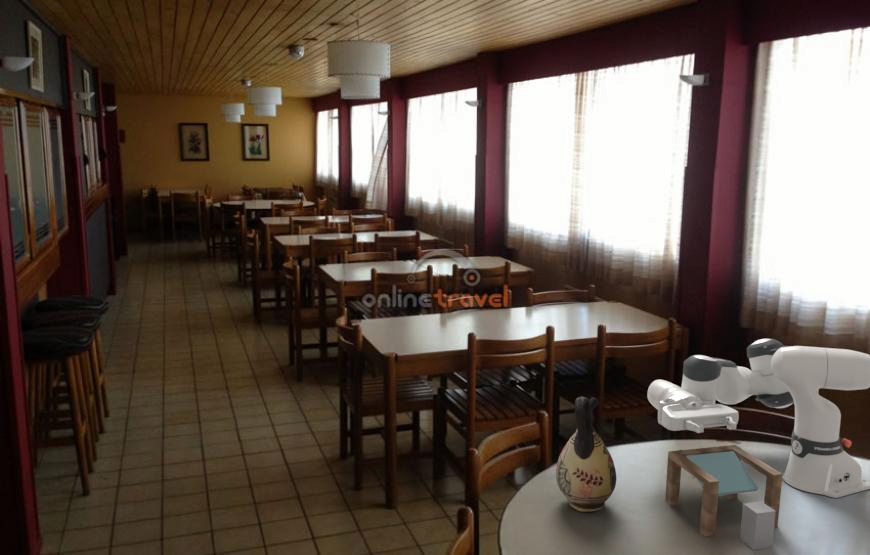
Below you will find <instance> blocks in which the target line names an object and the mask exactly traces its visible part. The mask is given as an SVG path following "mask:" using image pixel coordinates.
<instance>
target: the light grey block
mask: <svg viewBox="0 0 870 555" xmlns="http://www.w3.org/2000/svg"><path fill="white" fill-rule="evenodd" d="M775 512H776V511H775V510H773V509H772V508H770V507H769V506H767V505H766V504H765V503H764V501H761V500H760V501H753V502H745V503H742V513H741V514H742V515H741V524H740V535H739V536H740V538H739V539H740V540H741V541H743V542H744V543H745V544H747V546H749V547H750V548H752V550H758V549H759V550H760V549H764V548H767V549H768V548H772V547H773V543H774V533H775V532H774V531H775V528H774V523H775Z"/></svg>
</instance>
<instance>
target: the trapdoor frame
mask: <svg viewBox="0 0 870 555" xmlns="http://www.w3.org/2000/svg"><path fill="white" fill-rule="evenodd" d="M730 451H734V453H735V454H736V456H737V457H738V459H739V460H740V461H742V462H743V463H745V464H746V465H748V466H749V467H751V468H752V469H754V470H756V471H757V472H759V473H760V474H762V475H763V476H765V477H766V479H765V486H764V487H765V488H764V498H763V503H765V504H766V505H767V506H769V507H770V508H772V509H773V510H775V511H776V512H775V523H774V529H775V528H778V527H779V517H780V516H779V515H780V506H781V496H782V484H783V475H784V473H782V472H780V471H779V470H778V469H775V468H773V467H772V466H770V465H769V464H767V463H766V462H764V461H762V460H760V459H759V458H757V457H755V455H753V454H751V453H749V452H747V451H746V450H744V449H742V448H741V447H739V446H738V445H737V444H730V445H719V446H711V447H702V448H701V447H699V448H693V449H692V448H691V449H678V450H670V451H667V452H668V453H667V462H666V463H667V464H666V481H665V494H664V495H665V496H664V497H665V498H664V503H666V504H667V505H669V506H670V507H671V506H679V505H680V490H681V477H682V469H683V470H685V471H686V472H688V474H690V475H691V476H692V477H694V478H695V479H696V480H697V479H698V480H699V481H701V482H702V483H703V488H702V498H701V508H700V509H701V511H700V512H701V513H700V525H699V532H700V533H701V534H702V535H704V536H705V537H715V536H716V527H717V526H716V525H717V517H718V516H717V515H718V512H717V511H718V502H719V501H718V500H719V496H718V491H719V481H718V480H717V479H716V478H714V477H713V476H711V475H710V474H709V473H707V472H706V471H704V470H703V469H702V468H700V467H699V466H698V465H696V464H695V463H693V462H692V461H691V460H689V459H688V458H686V456H690V455H700V454H710V453H720V452H730ZM698 480H697V481H698ZM738 494H739V493H736V494H728V495H723V496H724V497H725V498H727V499H728V500H732V499H737V498H738Z"/></svg>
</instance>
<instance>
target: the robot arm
mask: <svg viewBox="0 0 870 555" xmlns="http://www.w3.org/2000/svg"><path fill="white" fill-rule="evenodd" d="M746 356H747V358H748V360H749V365H750V369H749V368H747V367H745V366H739V365H737V364H736V363H735V362H733V361H732V360H728V359H724V358H719V357H710V356H707V355H703V354H694V355H690V356H689V357H687V359H685V360H684V361H683V368H682V380H681V386H679V385H677V384H674V383H672V382H671V381H668V380H666V379H665V380H664V379H655V380H653V381H652V382H651V383H650V384H649V386H648V389H647V393H646V394H647V396H646V397H647V400H648V402H649V403H650V404H651V405H652V406H653V407H654V408H655V409H656V410H657V422H658V424H659V425H660V426H662V427H664V428H665V429H667V430H669V431H672V432H677V431H679V432H680V431H691V432H695V433H697V434H704V432H705V431H704V429H709V428H716V427H726V429H728V430H729V431H731V430H733V431H734V430H736V429H737V425H738V422H739V419H740V418H739V416H740V415H739V411H738V410H736V409H735V408H732V407H730V406H728V405H737V404H738V403H741V402H743V401H745V400H746V399H748V398H750V397H751V396H756V398H755V400H756V401H757V402H760V403H762V405H764V406H765V407H769V408H771V409H772V408H775V409H786V408H788V407H789V406H792V405H794V427H793V430H792V433H791V440H790V446H791V449H790V451H789V452H790V454H789V457H788V460H787V465H786V467H785V471H784V473H783V476H782V480H784V482H785V483H787V485H790V486H791V487H793V488H796V489H798V490H799V491H804V492H806V493H811V494H818V495H823V496H827V497H830V498H832V499H833V498H835V499H837V498H841V497H844V496H848V495H852V494H855V493H860V492H863V491H867V490H870V482H869V481H868V480H867V479H866V478H864V477H863V475H862V467H861V465H860V463H859V462H858V461H857V460H856V459H855V458H854V457H853V456H851V455H850V454H848V453H847V452H846V451H845V450H844V448H843V446H844V447H846V448H850V447H851V446H852V444H853V442H852V441H851V440H850V439H847V438H846V437H842V438H841V436H840V429H841V420H842V419H841V418H842V414H841V410H840V409H839V407H838V406H837V405H836V404H835V403H834V402H832V401H830V400H829V399H826V398H825V397H823V396H821V395H820V394H819V390H820V389H828V390H839V391H857V390H867V389H869V388H870V354H869V353H865V352H862V351H857V350H854V349H853V350H852V349H848V348H847V349H846V348H831V347H822V346H821V347H818V346H809V345H808V346H806V345H793V346H792V345H790V346H788V345H784V344H783V343H782V342H781V341H779V340H777V339H774V338H761V339H757V340H754V342H753V343H751V344H749V345H748V346H747V348H746ZM716 401H718V402H719V403H716Z"/></svg>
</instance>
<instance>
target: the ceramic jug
mask: <svg viewBox="0 0 870 555" xmlns="http://www.w3.org/2000/svg"><path fill="white" fill-rule="evenodd" d="M599 404H600V400H599V399H598V398H596V397H591V398H588V397H585V396H579V397H577V398H576V399H575V400H574V417H575V425H576V430H575V432H574V433H573V434H572V435H571V436H570V438H569V440H568V441H567V442H566V444H565V445H564V447H563V448H562V450H561V452H560V454H559V456H558V460H557V463H556V469H555V479H556V484H557V486H558V489H559V490H560V492H561V493H562V494H563V495H564V496H565V498H566V500H567V501H568V505H569V506H570V507H571V508H573V509H575V510H576V511H578V512H598V511H602V509H604V508H605V506H606V504H605V503H606V502H607V501H608V499H610V497H611V496H612V494H613V492H614V491H615V488H616V485H617V472H616V471H617V470H616V467H615V463H614V459H613V457H612V455H611V452H610V451H609V449H608V447H607V446H606V444H605V442H604V441H603V439H602V438H601V437H600V435H599V434H598V433H597V432H596V430H595V428H594V426H593V412H594V411H593V410H594V409H595V408H596V407H597V406H599Z"/></svg>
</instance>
